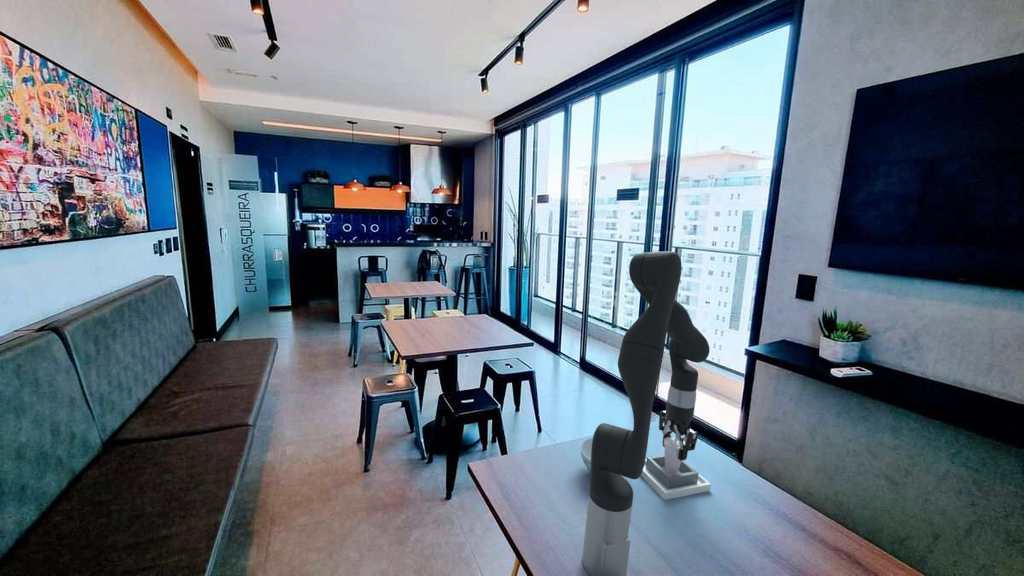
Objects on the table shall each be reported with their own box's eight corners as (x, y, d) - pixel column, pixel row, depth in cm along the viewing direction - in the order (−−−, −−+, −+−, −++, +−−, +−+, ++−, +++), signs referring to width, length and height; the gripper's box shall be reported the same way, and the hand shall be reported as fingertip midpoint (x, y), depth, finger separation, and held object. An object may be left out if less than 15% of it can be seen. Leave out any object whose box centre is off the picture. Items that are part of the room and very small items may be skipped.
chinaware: (624, 461, 130) (626, 439, 129) (632, 493, 116) (635, 469, 114) (577, 456, 132) (579, 435, 130) (579, 487, 117) (582, 463, 116)
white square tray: (710, 490, 118) (712, 476, 118) (664, 500, 114) (666, 485, 113) (675, 460, 132) (677, 447, 132) (633, 467, 128) (634, 454, 127)
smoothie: (660, 474, 120) (666, 431, 118) (659, 462, 126) (665, 421, 124) (683, 480, 118) (689, 436, 116) (681, 468, 124) (688, 426, 122)
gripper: (710, 411, 113) (701, 465, 116) (674, 389, 126) (668, 438, 129) (688, 414, 110) (680, 469, 113) (654, 391, 124) (648, 441, 127)
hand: (673, 452), depth 121 cm, fingers closed on smoothie, 6 cm apart
